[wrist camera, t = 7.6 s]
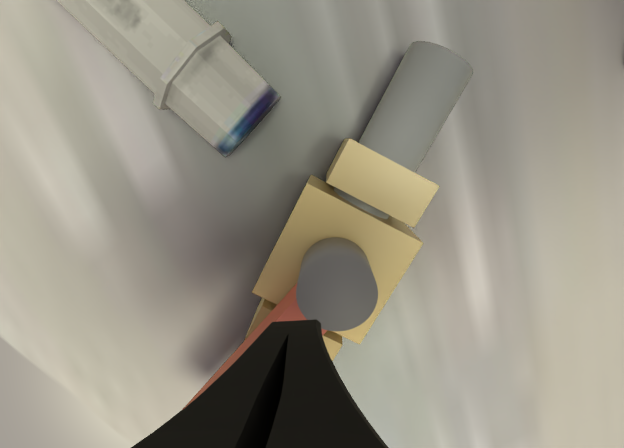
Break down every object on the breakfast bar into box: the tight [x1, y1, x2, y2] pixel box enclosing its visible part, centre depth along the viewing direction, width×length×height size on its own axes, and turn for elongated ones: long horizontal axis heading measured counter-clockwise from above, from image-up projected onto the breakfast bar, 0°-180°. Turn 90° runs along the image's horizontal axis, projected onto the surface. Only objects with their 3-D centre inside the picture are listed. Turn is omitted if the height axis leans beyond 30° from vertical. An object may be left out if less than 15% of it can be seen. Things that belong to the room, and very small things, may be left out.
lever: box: [182, 237, 378, 410], centre depth 14 cm, size 12×3×2 cm, turn 140°
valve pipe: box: [244, 41, 473, 361], centre depth 17 cm, size 20×6×4 cm, turn 153°
